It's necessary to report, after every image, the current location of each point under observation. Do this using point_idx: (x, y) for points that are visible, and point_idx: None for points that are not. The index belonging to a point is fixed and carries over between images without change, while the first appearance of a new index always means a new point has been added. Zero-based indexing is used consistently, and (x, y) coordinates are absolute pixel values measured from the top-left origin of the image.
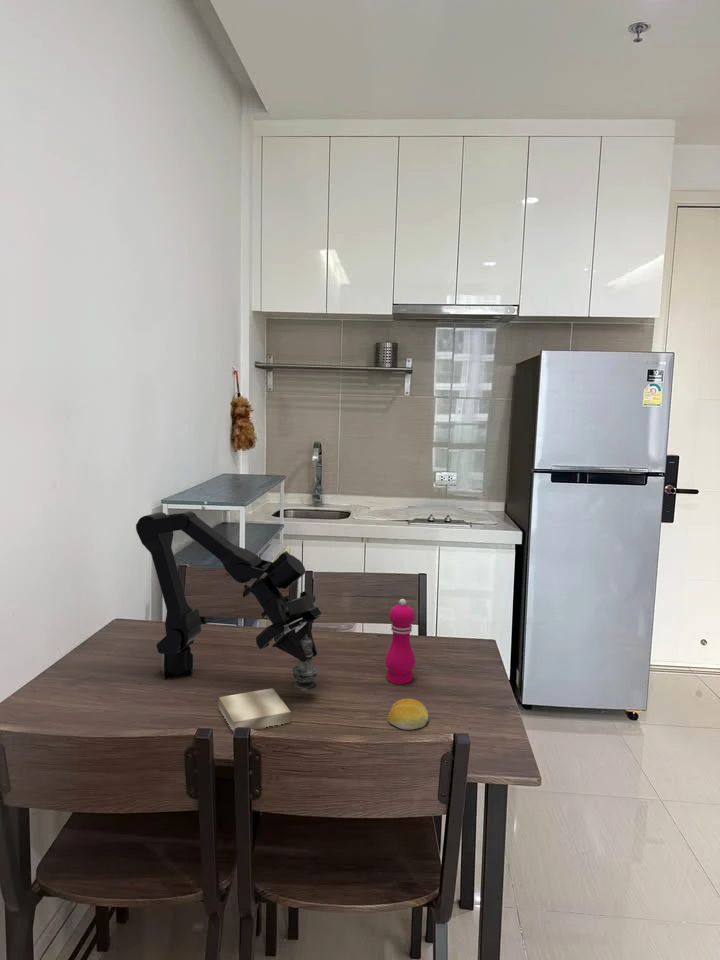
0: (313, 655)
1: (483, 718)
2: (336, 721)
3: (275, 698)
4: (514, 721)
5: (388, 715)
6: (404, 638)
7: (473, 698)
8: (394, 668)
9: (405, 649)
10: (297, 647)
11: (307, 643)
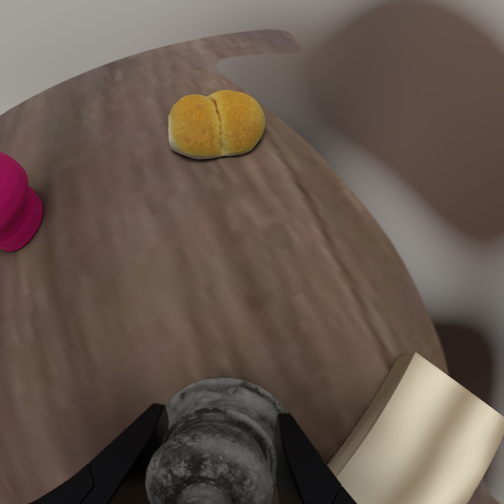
0: (167, 424)
1: (156, 66)
2: (317, 255)
3: (370, 454)
4: (152, 49)
5: (247, 143)
6: None
7: (87, 94)
8: (24, 195)
9: None
10: (342, 488)
11: (256, 453)
